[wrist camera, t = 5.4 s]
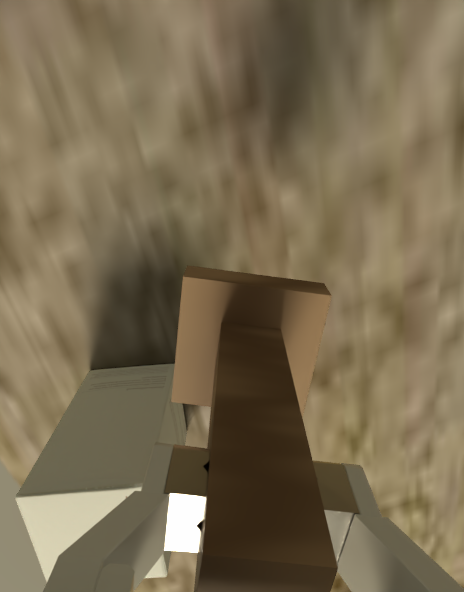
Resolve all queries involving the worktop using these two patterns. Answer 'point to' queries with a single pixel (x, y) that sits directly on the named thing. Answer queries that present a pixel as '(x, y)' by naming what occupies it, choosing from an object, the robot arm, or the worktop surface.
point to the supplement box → (99, 456)
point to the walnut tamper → (255, 428)
